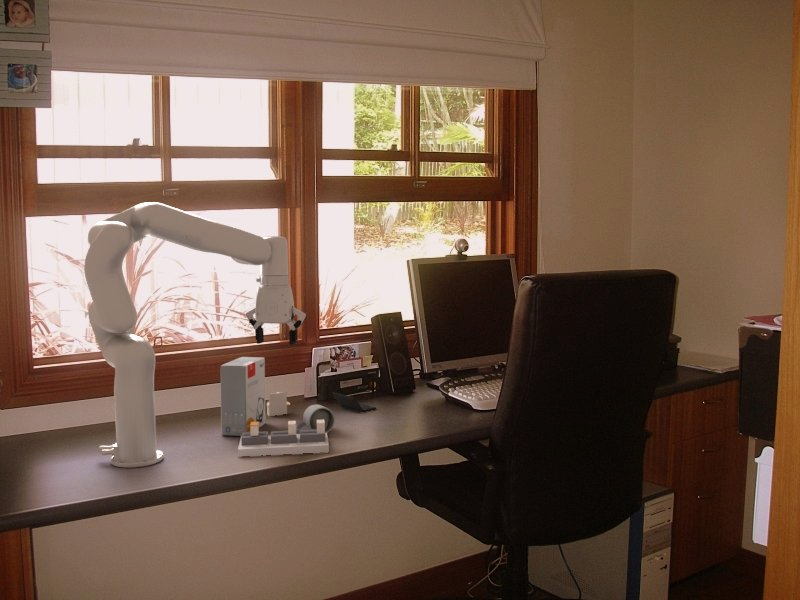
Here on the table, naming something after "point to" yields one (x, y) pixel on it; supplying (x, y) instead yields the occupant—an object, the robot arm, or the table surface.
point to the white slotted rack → (285, 441)
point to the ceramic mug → (316, 418)
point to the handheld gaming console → (352, 403)
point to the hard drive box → (242, 395)
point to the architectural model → (277, 404)
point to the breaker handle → (254, 428)
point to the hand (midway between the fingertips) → (276, 343)
